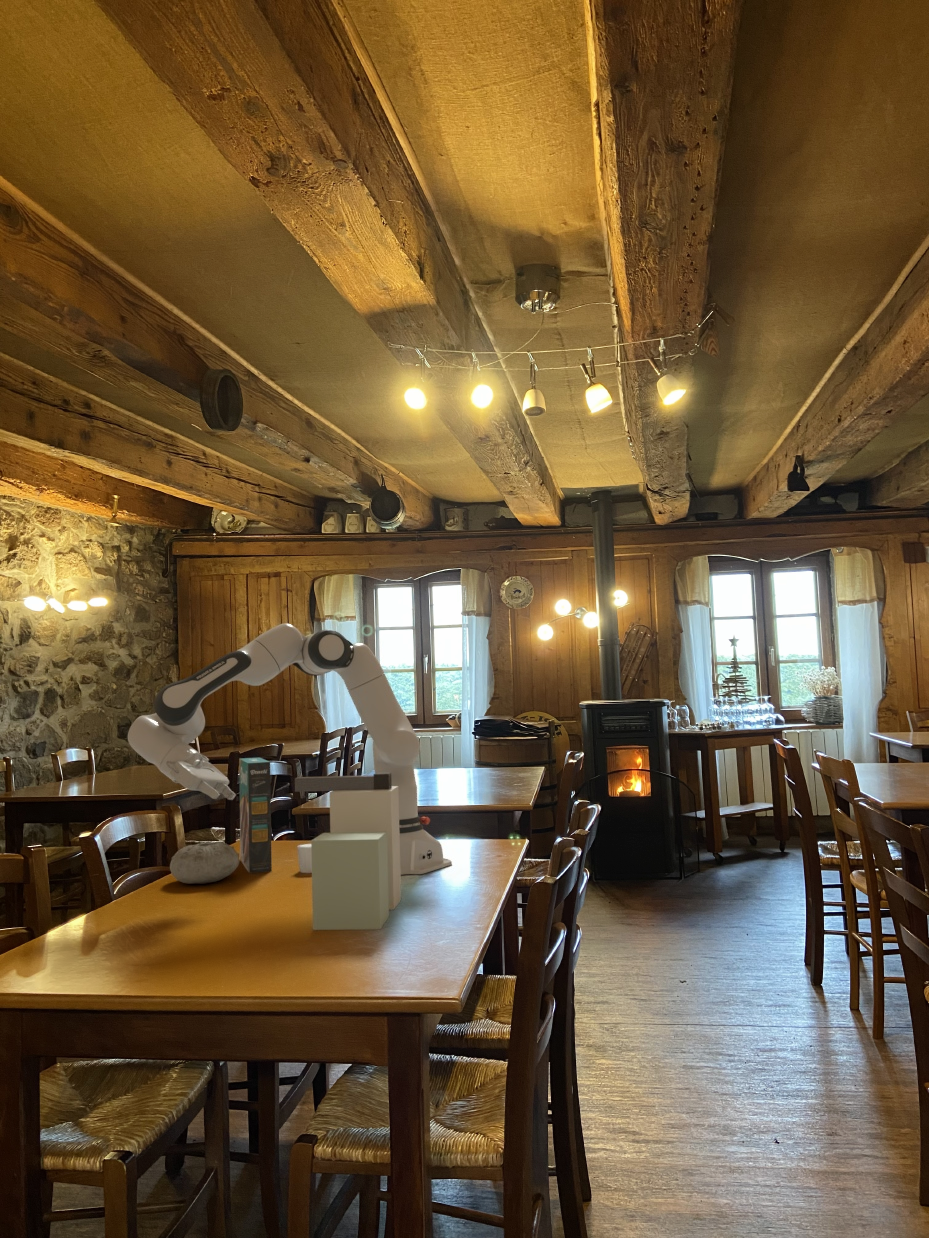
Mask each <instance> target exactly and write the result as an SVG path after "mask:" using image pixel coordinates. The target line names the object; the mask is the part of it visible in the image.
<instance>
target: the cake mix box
mask: <svg viewBox="0 0 929 1238" xmlns="http://www.w3.org/2000/svg"><path fill="white" fill-rule="evenodd" d="M238 760H239V761H238V763H239V764H238V765H239V767H238V768H239V770H238V771H239V772H238V773H239V838H240V839H239V841H240V842H239V843H240V846H239V847H240V848H239V850H240V851H239V860H240V862H241V863H242V864H243V867H244V868H245V869H246V871H247V872H248V874H257V873H267V872H272V871H273V869H272V868H273V867H272V865H273V864H272V810H271V809H272V805H271V804H272V803H271V802H272V801H271V795H272V794H271V761H269V760H266V759H264V758H262V757H245V758H239V759H238Z"/></svg>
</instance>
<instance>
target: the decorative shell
mask: <svg viewBox="0 0 929 1238" xmlns="http://www.w3.org/2000/svg"><path fill="white" fill-rule="evenodd" d="M240 862H241V860H240V852H237V850H236V849H235V846H231V845H230V844H227V842H226V843H225V842H221V841H217V842H216V841H215V842H201V843H196V844H190V845H185V846H184V847H182V848H180V849H178V851H176V853H174V854H173V856H172V857H171V860H170V864H169V870H170V872H171V875H172V876H173V877H174V878H175V879H176V880H177V881H179V882H181V883H183V884H186V885H187V884H188V885H192V884H193V885H194V884H196V885H197V884H198V885H204V884H209V883H215V882H217V881H218V882H219V881H221V880H223V879H225V878H227V877H229V876H230V875H232V874H233V873H234V872H235V870H236V869H237V868H238V867H239V865H240Z"/></svg>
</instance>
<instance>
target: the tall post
mask: <svg viewBox="0 0 929 1238" xmlns="http://www.w3.org/2000/svg"><path fill="white" fill-rule="evenodd" d="M329 827H330V828H329V831H330V832H329V833H339V832H387V856H388V896H389V911H394V910H395V909H396V908H397V906H398V905H399V903H400V901H401V900H402V883H401V882H402V878H401V877H402V875H401V871H400V833H399V795H398V786H392V788H391V789H389V790H342V791H329Z"/></svg>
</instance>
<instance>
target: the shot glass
mask: <svg viewBox="0 0 929 1238" xmlns="http://www.w3.org/2000/svg"><path fill="white" fill-rule="evenodd" d="M296 847H297V849H296V850H297V858H298V866H299V867H298V868H299V873H302V874H312V849H311V843H310V842H309V843H301V844H298V845H297V846H296Z"/></svg>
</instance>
